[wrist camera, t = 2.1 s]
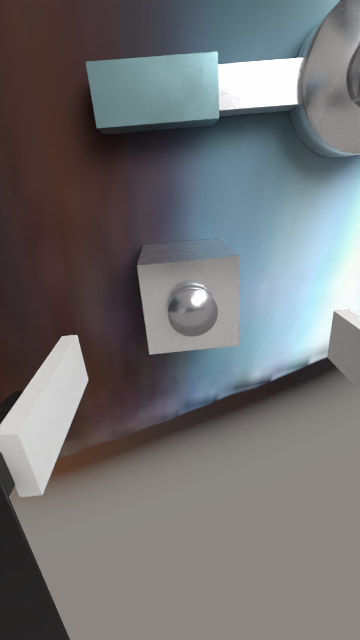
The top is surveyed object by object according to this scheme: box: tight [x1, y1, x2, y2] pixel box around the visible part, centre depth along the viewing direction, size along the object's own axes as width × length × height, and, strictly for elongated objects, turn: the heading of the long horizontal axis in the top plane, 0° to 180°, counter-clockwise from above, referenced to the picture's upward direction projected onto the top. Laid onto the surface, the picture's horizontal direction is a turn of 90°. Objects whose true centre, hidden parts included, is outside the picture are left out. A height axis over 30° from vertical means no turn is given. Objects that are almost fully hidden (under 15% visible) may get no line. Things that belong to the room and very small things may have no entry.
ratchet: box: [86, 0, 360, 158], centre depth 18 cm, size 22×9×8 cm, turn 95°
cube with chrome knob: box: [137, 238, 239, 355], centre depth 23 cm, size 6×6×8 cm
